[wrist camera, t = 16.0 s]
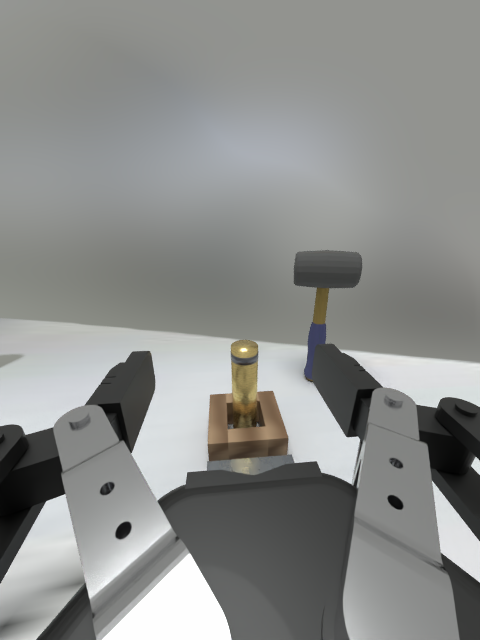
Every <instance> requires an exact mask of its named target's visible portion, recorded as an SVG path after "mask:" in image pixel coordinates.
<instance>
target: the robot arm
mask: <svg viewBox="0 0 480 640" xmlns="http://www.w3.org/2000/svg"><path fill="white" fill-rule="evenodd" d="M312 379H313V383H314V385H315V386H316V388H317V389H318V391H319V393H320V394H321V396H322V398H323V399H324V401H325V403H326V404H327V406H328V408H329V409H330V411H331V412H332V414H333V416H334V417H335V419H336V421H337V422H338V424H339V426H340V427H341V429H342V430H343V432H344V434H345V435H346V437H356V436H358V437H359V438H360V443H359V447H358V453H357V458H356V463H355V468H354V474H353V479H352V484H350V483H348V482H346V481H344V480H342V479H340V478H337V477H335V476H332V475H329V474H325V473H321V471H320V468H319V466H318V464H317V461H315V462H304V463H292V464H285V465H282V466H279V467H276V468H274V469H271V470H268V471H265V472H263V473H260V474H257V475H249V474H243V473H237V472H232V471H226V470H210V471H198V472H187V479H186V485H183V486H180V487H178V488H176V489H174V490H172V491H170V492H169V493H167V494H166V495H164V496H163V497H162V498H160V499H159V500H158V501H157V500H156V498H155V496H154V494H153V493H152V491H151V489H150V487H149V485H148V484H147V482H146V480H145V478H144V476H143V475H142V473H141V471H140V469H139V467H138V466H137V464H136V462H135V460H134V458H133V456H132V455H131V453H132V451H133V448H134V445H135V443H136V440H137V437H138V435H139V432H140V429H141V426H142V424H143V421H144V418H145V416H146V413H147V410H148V407H149V405H150V402H151V399H152V397H153V394H154V391H155V375H154V369H153V362H152V356H151V353H150V351H135V352H132V353H131V354H130V356H129V357H128V359H127V360H126V362H125V363H119V364H118V365H116V366H115V367H113V368H112V369H111V370H110V371H109V372H108V374H107V375H106V377H105V378H104V379H103V381H102V382H101V385H99V386H98V388H97V389H96V390H95V392H94V393H93V395H92V396H91V397H90V399H89V400H88V401H87V403H86V404H85V406H81V407H78V408H75V409H73V410H71V411H69V412H67V413H66V414H64V415H63V416H62V417H61V418H59V420H58V421H57V422H56V423H55V425H54V427H53V428H50V429H46V430H43V431H39V432H35V433H32V434H28V435H25V433H24V431H23V429H22V427H20V426H19V425H5V426H0V583H1V581H2V580H3V578H4V576H5V574H6V572H7V571H8V569H9V567H10V565H11V563H12V562H13V560H14V558H15V556H16V554H17V553H18V551H19V549H20V547H21V545H22V544H23V542H24V540H25V538H26V536H27V535H28V533H29V531H30V529H31V527H32V526H33V524H34V522H35V520H36V518H37V517H38V515H39V513H40V511H41V509H42V508H43V506H44V504H45V502H46V501H48V500H50V499H53V498H56V497H58V496H61V495H64V494H66V498H67V503H68V507H69V511H70V516H71V520H72V525H73V529H74V533H75V538H76V542H77V546H78V551H79V555H80V560H81V564H82V568H83V573H84V577H85V581H86V582H85V583H84V585H83V586H82V587H81V588H80V589H79V590H78V592H77V593H76V594H75V595H74V596H73V597H72V599H71V600H70V601H69V602H68V603H67V604H66V606H65V607H64V608H63V609H62V610H61V611H60V613H59V614H58V615H57V616H56V617H55V618H54V620H53V621H52V622H51V623H50V624H49V625H48V627H47V628H46V629H45V630H44V631H43V632H42V634H41V635H40V636H39V637H38V638H37V639H36V640H480V583H479V582H478V581H477V580H476V579H474V578H473V577H472V576H470V575H469V574H468V573H466V572H465V571H464V570H463V569H461V568H460V567H459V566H457V565H456V564H455V563H454V562H452V561H451V560H450V559H448V558H447V557H446V556H444V555H443V554H442V553H441V552H440V543H439V535H438V527H437V519H436V511H435V502H434V494H433V486H432V481H433V482H434V483H435V485H436V486H437V487H438V488H439V490H440V491H441V492H442V494H443V495H444V496H445V497H446V499H447V500H448V501H449V502H450V504H451V505H452V506H453V508H454V509H455V510H456V511H457V513H458V514H459V515H460V517H461V518H462V519H463V520H464V522H465V523H466V524H467V526H468V527H469V528H470V529H471V531H472V532H473V533H474V535H475V536H476V537H477V538H478V540H479V541H480V475H479V474H478V473H477V472H476V471H475V470H474V469H473V468H472V467H471V464H472V462H473V461H474V459H475V457H477V458H478V459H479V460H480V407H478V406H476V405H474V404H472V403H470V402H468V401H465V400H462V399H458V398H451V397H447V398H442V399H441V400H440V402H439V404H438V407H437V408H433V407H427V406H420V405H416V404H415V402H414V401H413V400H412V399H411V398H410V397H409V396H407V395H406V394H404V393H402V392H400V391H397V390H394V389H391V388H383V387H382V386H381V385H380V384H379V383H378V382H377V381H376V380H375V379H374V378H373V377H372V376H371V375H370V374H369V373H368V372H367V371H365V369H364V368H363V367H362V366H360V364H359V363H358V362H357V361H356V360H355V359H354V358H352V357H350V356H348V355H347V354H345V353H341V352H340V350H339V349H338V348H337V347H336V346H335V345H334V344H317V345H316V347H315V352H314V359H313V366H312Z"/></svg>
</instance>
